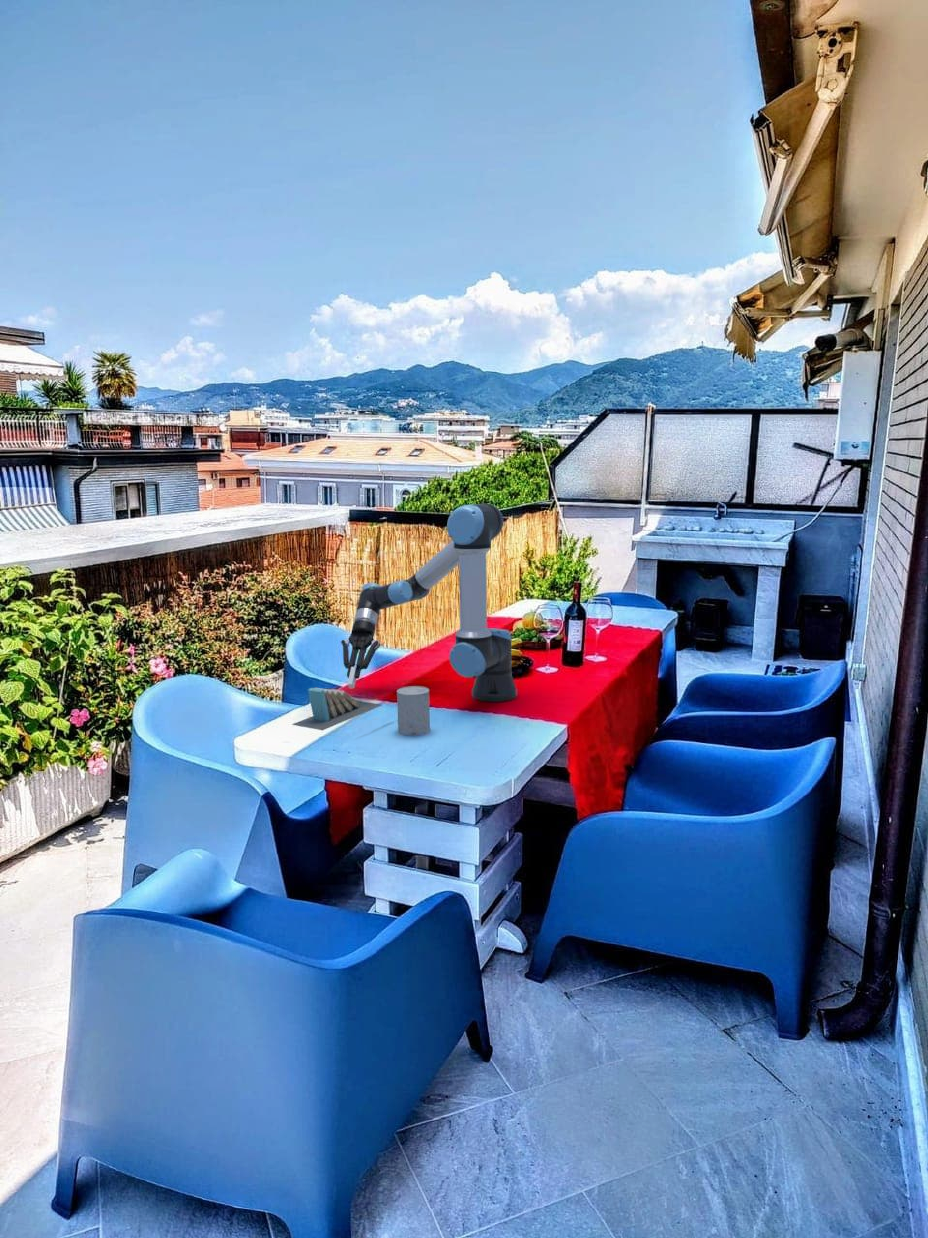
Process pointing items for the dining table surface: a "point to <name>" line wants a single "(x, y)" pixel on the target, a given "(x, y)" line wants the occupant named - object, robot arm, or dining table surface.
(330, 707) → the domino
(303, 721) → the mat
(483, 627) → the robot arm
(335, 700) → the domino
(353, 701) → the domino
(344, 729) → the dining table surface
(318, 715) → the domino
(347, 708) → the domino
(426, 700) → the grey flat-topped cylinder
